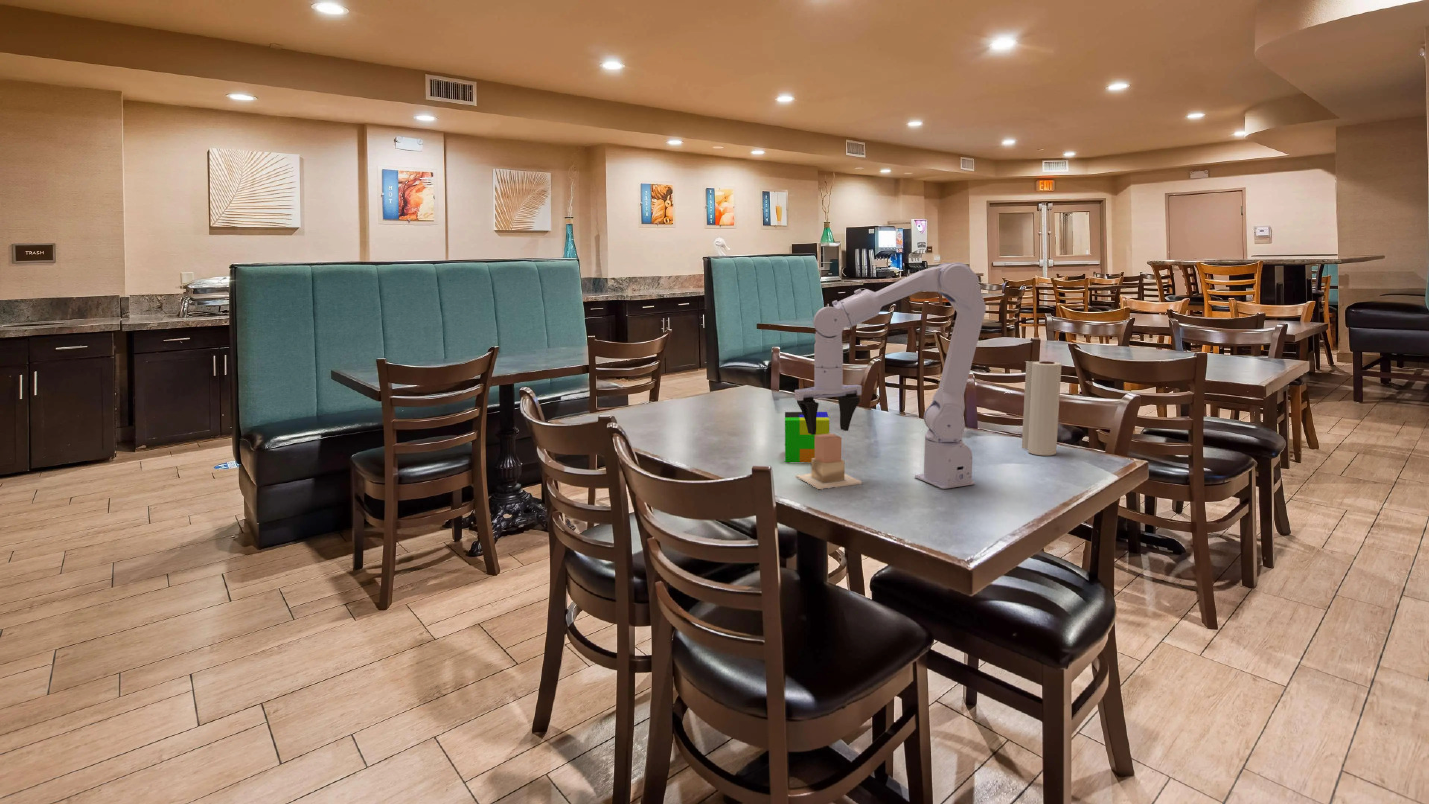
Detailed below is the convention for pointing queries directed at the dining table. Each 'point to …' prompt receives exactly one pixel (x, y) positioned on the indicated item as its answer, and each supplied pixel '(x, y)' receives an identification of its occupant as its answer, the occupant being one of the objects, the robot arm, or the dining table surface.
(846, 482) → the square frame
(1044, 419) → the paper towel roll
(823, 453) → the terracotta block
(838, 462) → the maple block
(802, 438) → the puzzle toy
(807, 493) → the dining table surface
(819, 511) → the dining table surface
